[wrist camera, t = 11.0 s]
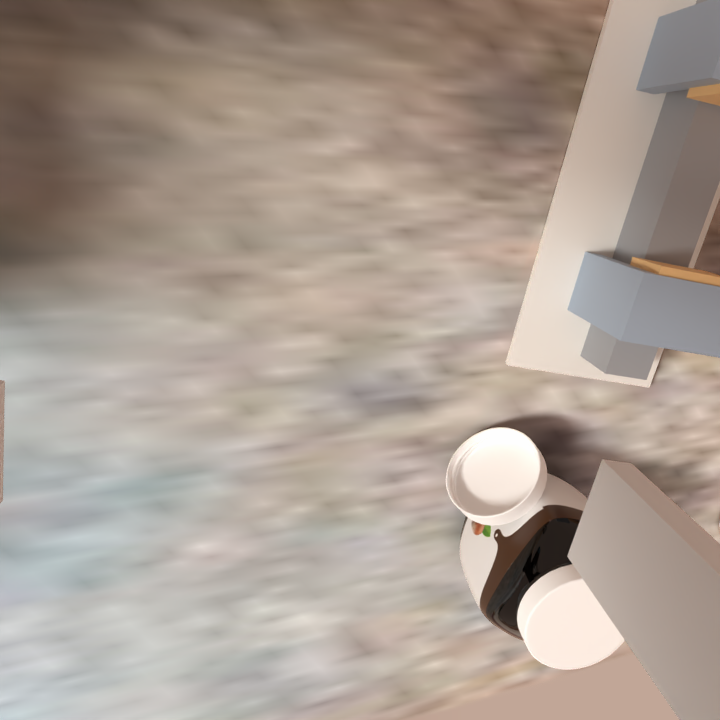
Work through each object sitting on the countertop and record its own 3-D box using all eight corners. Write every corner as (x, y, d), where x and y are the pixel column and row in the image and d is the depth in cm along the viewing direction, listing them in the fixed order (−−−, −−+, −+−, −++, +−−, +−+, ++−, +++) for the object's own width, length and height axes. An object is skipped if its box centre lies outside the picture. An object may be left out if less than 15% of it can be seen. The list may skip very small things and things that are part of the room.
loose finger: (567, 309, 41) (620, 341, 35) (587, 244, 40) (647, 263, 33) (659, 325, 42) (727, 358, 36) (682, 262, 41) (757, 284, 34)
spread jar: (517, 579, 49) (584, 703, 38) (396, 532, 46) (431, 652, 35) (600, 458, 46) (698, 555, 35) (477, 401, 43) (542, 487, 32)
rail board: (505, 362, 42) (526, 384, 39) (633, -83, 34) (676, -111, 30) (645, 385, 44) (678, 407, 41) (799, -32, 36) (858, -53, 32)
